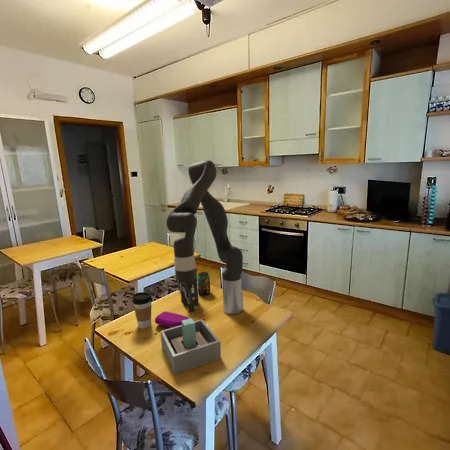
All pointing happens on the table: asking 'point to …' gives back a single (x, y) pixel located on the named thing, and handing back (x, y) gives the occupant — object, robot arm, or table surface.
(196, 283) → the container
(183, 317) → the spray bottle
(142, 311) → the coffee cup
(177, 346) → the plate
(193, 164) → the robot arm
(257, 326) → the table surface
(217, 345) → the crate
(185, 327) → the peg
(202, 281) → the beverage can
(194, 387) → the table surface
